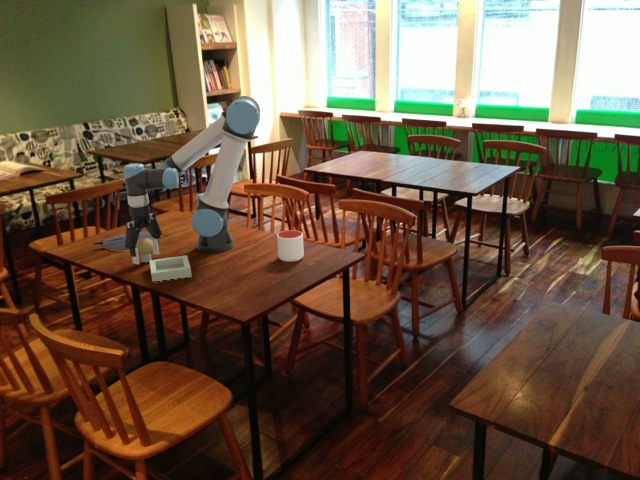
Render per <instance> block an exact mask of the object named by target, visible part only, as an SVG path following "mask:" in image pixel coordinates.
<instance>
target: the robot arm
mask: <svg viewBox="0 0 640 480" xmlns="http://www.w3.org/2000/svg"><path fill="white" fill-rule="evenodd" d="M220 113H221V114H220V116H219V118H217V119H216V120H215V121H214V122H212V123H211V124H210V125H208V126H207V127H206V128H205V129H204V130H203V129H202V131H201V132H200V133H198V134H197V135H196V136H194V137H193V138H192V139H191V140H189V141H188V142H187V143H186V144H184V145H183V146H182V147H181V148H179V149H178V150H177V151H176V152H175V153H173V154H172V155H171V156H169V158H167V159H165V160H163V161H162V162H161V163H160V164H159V166H158V167H157V168H151V169H150V168H145V165H144V164H143V163H130V164H126V165H125V166H124V167H123V175H124V185H125V188H126V194H127V195H126V197H127V205H128V210H129V215H130V217H131V221H130V222H125V228H126V231H125V234H126V240H125V248H128V249H130V252H129V253H130V256H131V258H132V264H135V265H140V264H141V263H140V257H139V251H138V248H136V244H137V241H138V237H139V233H140V232H142V230H143V229H145V230H147V232H149V233H150V235H151V236H152V237H153V238H152V239H151V240H152V242H153V249H152V254H153V255H157V256H159V255H160V247H159V246H160V242H159V240H158V239H160V237H161V236H162V230H161V227H160V225H159V223H158V221H157V216H156V213H151V207H150V204H149V203H150V200H149V194H148V190H158V189H159V190H160V189H161V190H162V189H163V190H164V189H166V190H168V189H175V188H178V187H179V183H180V177H179V176H180V175H181V174H182V173H183V172H184V171H186V170H187V169H188V168H189V167H191V166H192V165H193V164H195V162H197V161H198V160H200V159H201V158H202V157H203V156H205V155H206V154H208V152H210V151H211V150H213V149H214V148H216V146H218V145H219V144H220V143H221V144H220V146H219V149H218V153H217V156H216V159H215V162H214V165H213V168H212V171H211V174H210V177H209V180H208V184H207V186H206V189H205V192H203V193H198V194H197V195H196V197H195V202H196V206H195V210H194V212H193V214H192V215H191V227H192V228H193V230H194V231H195V232H196V233H197V235H198V237H197V241H196V249H197V250H198V251H200V252H202V253H207V254H208V253H209V254H211V253H212V254H213V253H221V252H226V251H228V250H230V249H231V248H233V247H234V238H233V237H232V234H231V232H230V229H229V226H228V224H229V223H228V214H227V213H228V210H229V206H230V204H229V203H228V201H227V200H228V199H229V195H230V191H231V189H232V187H233V183H234V180H235V178H236V174H237V172H238V169H239V167H240V163H241V160H242V157H243V154H244V151H245V148H246V145H247V143H249V142H251V141H253V138H254V135H255V132H256V129H257V127H258V126H259V123H260V119H261V109H260V105H259V103H257V101H256V100H255V99H254V98H253V97H252V96H251V97H250V96H244V95H241V96H238V97H236V98H235V99H234V100H232V102H231V103H230V104H229V105H228V106H227V108H225V109H224V110H223V111H222V112H220ZM132 245H133V246H132Z"/></svg>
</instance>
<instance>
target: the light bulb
mask: <svg viewBox="0 0 640 480" xmlns="http://www.w3.org/2000/svg"><path fill="white" fill-rule="evenodd" d="M136 248H138V253H139V254H140V255H141V256H140V257H141V262H142V263H143V262H145V263H144V264H148V263H147V262H149V263H150V261H149V260H153V259H152V254H151V253H152V252H153V250H152V249H153V242H152V240H150V239H149V238H141V239H139V240H138V241H137V244H136Z"/></svg>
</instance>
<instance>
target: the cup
mask: <svg viewBox="0 0 640 480" xmlns="http://www.w3.org/2000/svg"><path fill="white" fill-rule="evenodd" d="M303 236H304V233H303V232H302V231H300V230H297V229H296V230H295V229H290V230H282V231H280V232H278V233H277V234H276V240H277V241H276V242H277V256H278V259H279V260H281V261H282V262H285V263H287V262H288V263H292V262H298V261H300V260H302V259H303V257H304V255H305V254H304V252H305V251H304V249H305V248H304V237H303Z"/></svg>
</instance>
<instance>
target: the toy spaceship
mask: <svg viewBox="0 0 640 480" xmlns="http://www.w3.org/2000/svg"><path fill="white" fill-rule="evenodd" d="M141 238H149V239H150V240H151V239H152V238H153V237H152V236H151V235H150V233H149V232H148V231H141V232H140V233H139V237H138V240H139V239H141ZM100 240H104V241H102V244H101V245H96V246H92V247H91V249H92V248H98V247H108V248H111V249H118V250H130V249H128V248H125V240H126V233H123V234H119V235H115V236H111V237H108V238H104V239H97V240H95V242H101V241H100ZM158 240H159V241H160V239H158ZM160 242H161V241H160ZM132 246H133V245H132Z"/></svg>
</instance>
